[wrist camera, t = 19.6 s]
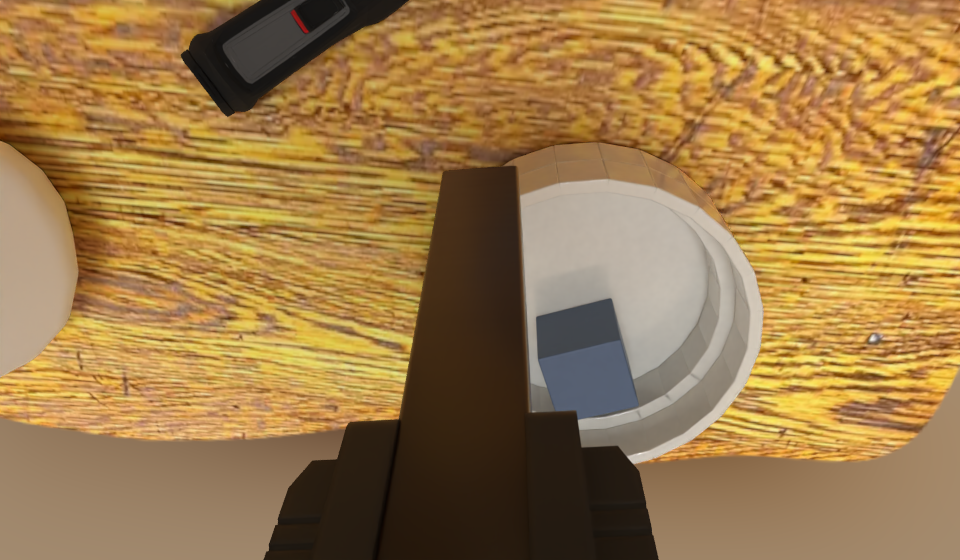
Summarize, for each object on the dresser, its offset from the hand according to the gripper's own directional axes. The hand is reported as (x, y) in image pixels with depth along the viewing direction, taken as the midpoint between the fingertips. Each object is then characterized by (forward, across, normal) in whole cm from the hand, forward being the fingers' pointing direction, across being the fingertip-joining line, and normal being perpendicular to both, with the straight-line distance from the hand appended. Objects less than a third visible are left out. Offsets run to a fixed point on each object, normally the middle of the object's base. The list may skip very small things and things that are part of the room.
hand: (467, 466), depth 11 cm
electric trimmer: (+27, +7, -3) cm, 28 cm away
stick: (+9, 0, 0) cm, 9 cm away
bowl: (+26, -4, +12) cm, 29 cm away
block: (+26, -4, +15) cm, 30 cm away
